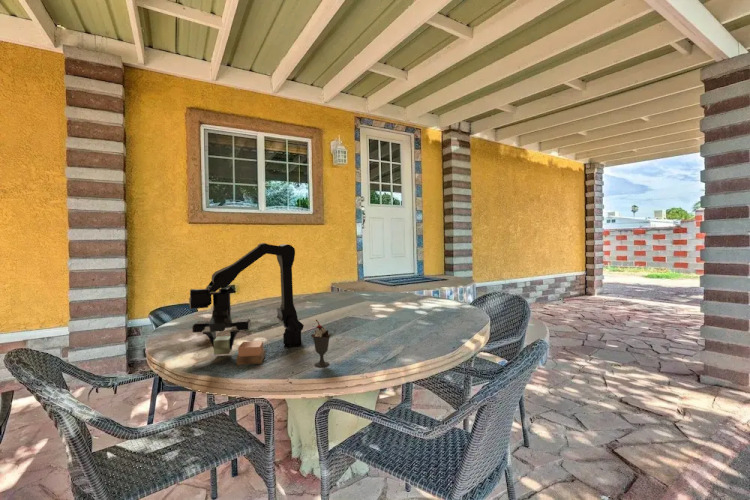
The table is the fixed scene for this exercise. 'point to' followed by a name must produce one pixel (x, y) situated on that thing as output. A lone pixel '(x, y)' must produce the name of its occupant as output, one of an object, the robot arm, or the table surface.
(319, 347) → the sundae
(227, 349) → the cube
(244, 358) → the bottom slab
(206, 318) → the smoothie
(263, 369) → the table surface
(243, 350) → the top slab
